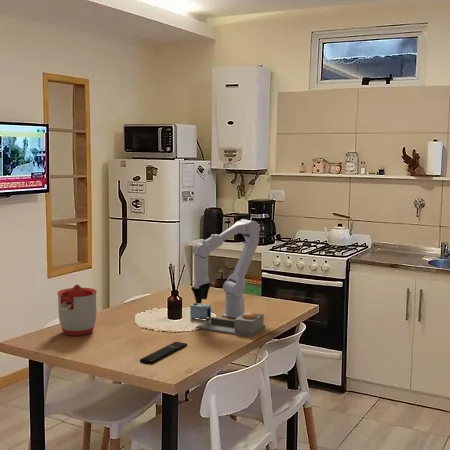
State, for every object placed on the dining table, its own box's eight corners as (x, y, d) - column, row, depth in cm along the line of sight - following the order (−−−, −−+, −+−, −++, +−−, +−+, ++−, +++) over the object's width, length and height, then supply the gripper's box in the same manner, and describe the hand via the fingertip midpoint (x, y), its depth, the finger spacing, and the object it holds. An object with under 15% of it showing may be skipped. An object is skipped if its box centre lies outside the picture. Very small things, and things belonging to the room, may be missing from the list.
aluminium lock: (195, 316, 281) (195, 301, 280) (211, 318, 278) (211, 303, 277) (190, 318, 277) (190, 304, 276) (206, 320, 274) (206, 306, 273)
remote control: (187, 347, 239) (187, 343, 239) (151, 366, 218) (151, 362, 218) (175, 345, 242) (175, 341, 242) (138, 363, 221) (138, 359, 221)
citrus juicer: (47, 336, 249) (46, 287, 247) (72, 325, 265) (71, 279, 263) (81, 341, 244) (80, 291, 241) (104, 329, 260) (103, 282, 258)
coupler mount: (212, 319, 276) (212, 303, 275) (265, 326, 265) (265, 310, 264) (195, 328, 261) (195, 312, 261) (250, 336, 251) (250, 320, 250)
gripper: (198, 266, 280) (198, 296, 281) (187, 273, 266) (187, 304, 268) (213, 267, 278) (213, 297, 279) (202, 274, 264) (202, 305, 266)
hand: (201, 301), depth 273 cm, fingers open, 7 cm apart
